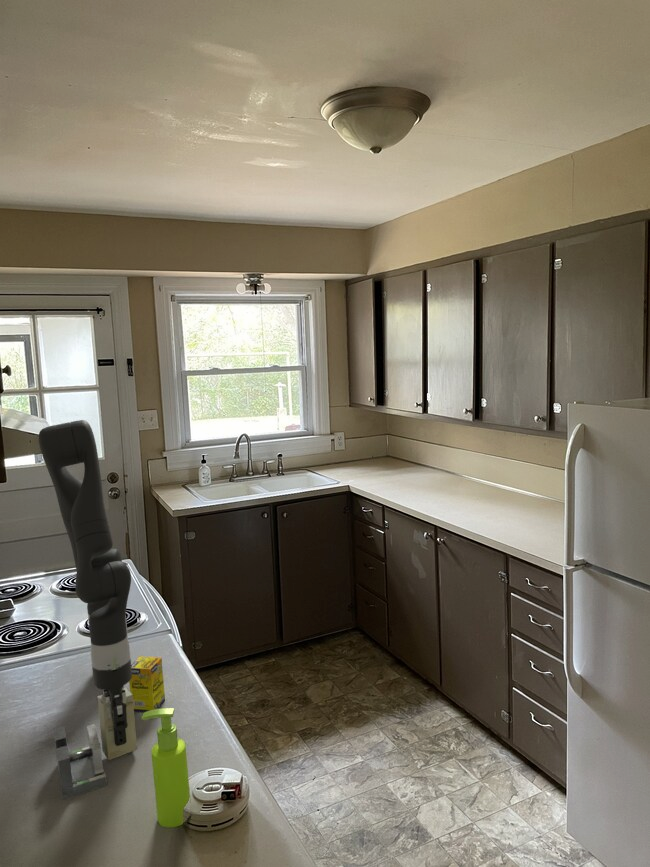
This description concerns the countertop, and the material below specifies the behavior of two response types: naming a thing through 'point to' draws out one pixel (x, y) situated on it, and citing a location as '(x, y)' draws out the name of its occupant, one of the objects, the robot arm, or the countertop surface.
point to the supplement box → (147, 684)
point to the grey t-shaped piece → (91, 751)
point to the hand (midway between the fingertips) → (118, 737)
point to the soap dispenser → (169, 770)
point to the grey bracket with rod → (75, 769)
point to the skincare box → (108, 732)
